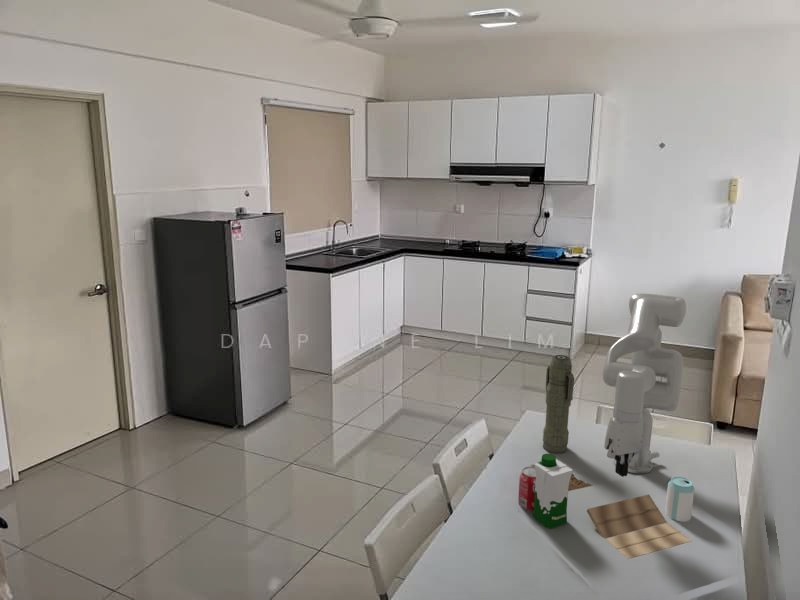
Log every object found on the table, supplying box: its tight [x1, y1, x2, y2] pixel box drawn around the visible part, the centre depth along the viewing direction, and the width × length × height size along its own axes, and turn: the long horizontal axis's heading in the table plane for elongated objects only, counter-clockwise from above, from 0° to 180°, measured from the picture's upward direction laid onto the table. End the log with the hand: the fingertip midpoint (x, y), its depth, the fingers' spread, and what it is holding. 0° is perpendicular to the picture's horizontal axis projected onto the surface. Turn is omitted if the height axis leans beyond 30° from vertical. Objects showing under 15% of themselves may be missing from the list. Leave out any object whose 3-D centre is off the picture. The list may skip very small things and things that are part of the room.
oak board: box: [605, 522, 693, 560], centre depth 168 cm, size 22×9×1 cm, turn 111°
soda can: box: [517, 466, 536, 511], centre depth 183 cm, size 7×7×12 cm
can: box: [664, 476, 695, 522], centre depth 178 cm, size 7×7×12 cm
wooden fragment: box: [530, 464, 593, 492], centre depth 200 cm, size 26×11×1 cm, turn 34°
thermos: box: [542, 354, 575, 454], centre depth 218 cm, size 9×12×35 cm
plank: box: [586, 494, 668, 539], centre depth 175 cm, size 22×9×1 cm
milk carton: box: [532, 453, 574, 530], centre depth 175 cm, size 9×9×20 cm
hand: (621, 474), depth 175 cm, fingers closed
